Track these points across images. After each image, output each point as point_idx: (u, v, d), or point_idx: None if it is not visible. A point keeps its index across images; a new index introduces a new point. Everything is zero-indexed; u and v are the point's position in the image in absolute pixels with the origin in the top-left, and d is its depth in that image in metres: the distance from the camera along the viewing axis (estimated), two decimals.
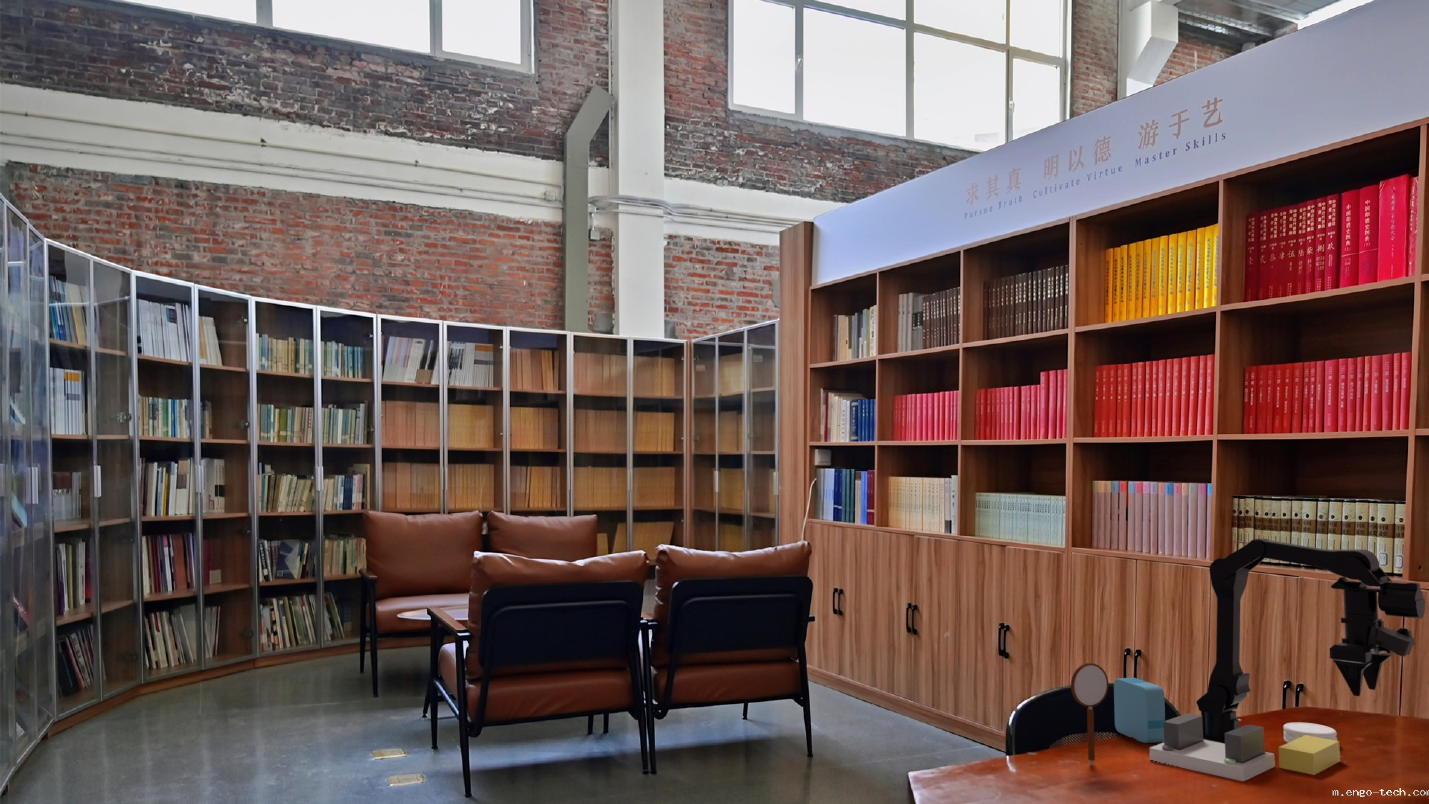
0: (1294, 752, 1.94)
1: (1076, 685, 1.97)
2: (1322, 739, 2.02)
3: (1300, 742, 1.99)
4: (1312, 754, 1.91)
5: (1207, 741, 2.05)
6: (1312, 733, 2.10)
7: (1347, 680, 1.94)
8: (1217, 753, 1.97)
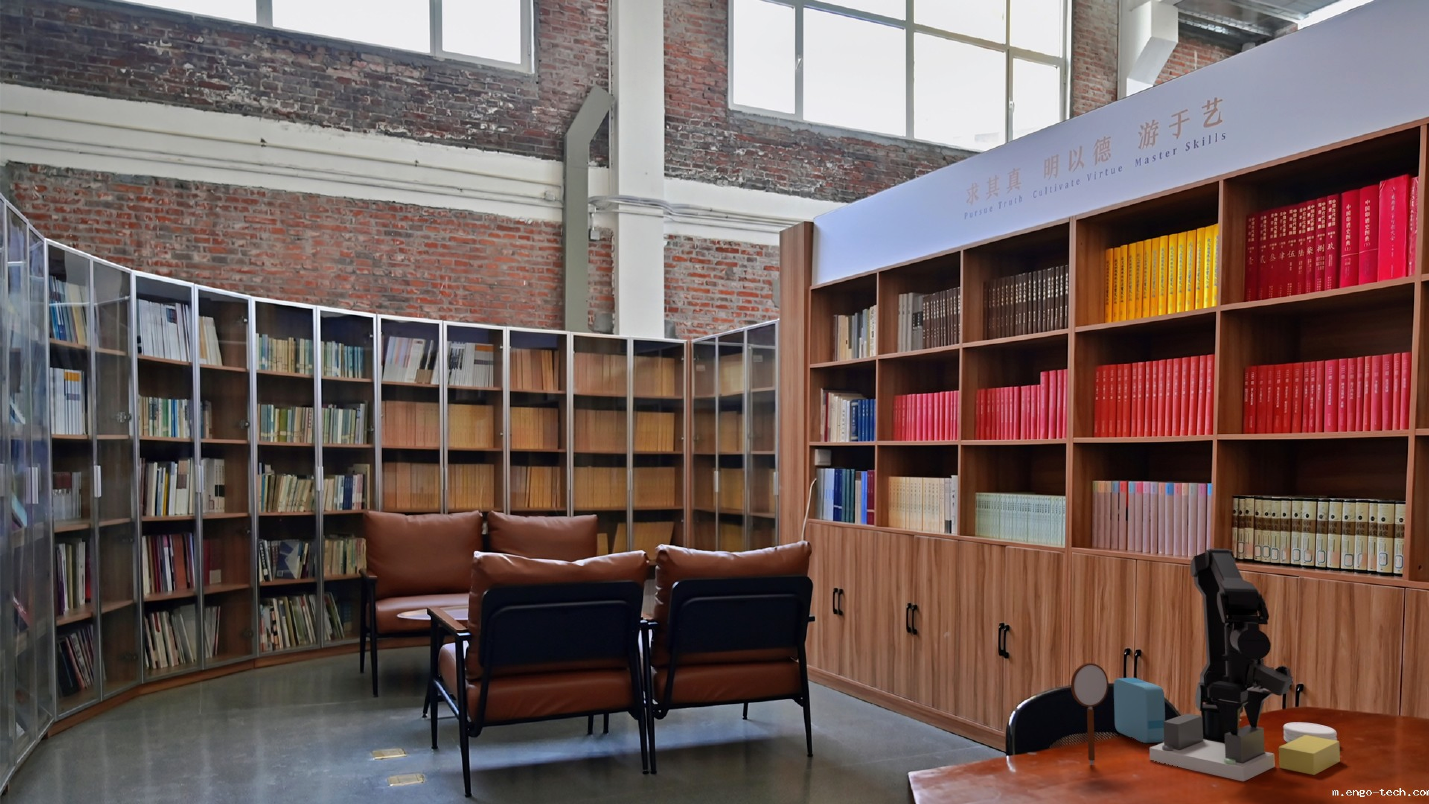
0: (1294, 752, 1.94)
1: (1076, 685, 1.97)
2: (1322, 739, 2.02)
3: (1300, 742, 1.99)
4: (1312, 754, 1.91)
5: (1207, 741, 2.05)
6: (1312, 733, 2.10)
7: (1225, 719, 1.93)
8: (1217, 753, 1.97)
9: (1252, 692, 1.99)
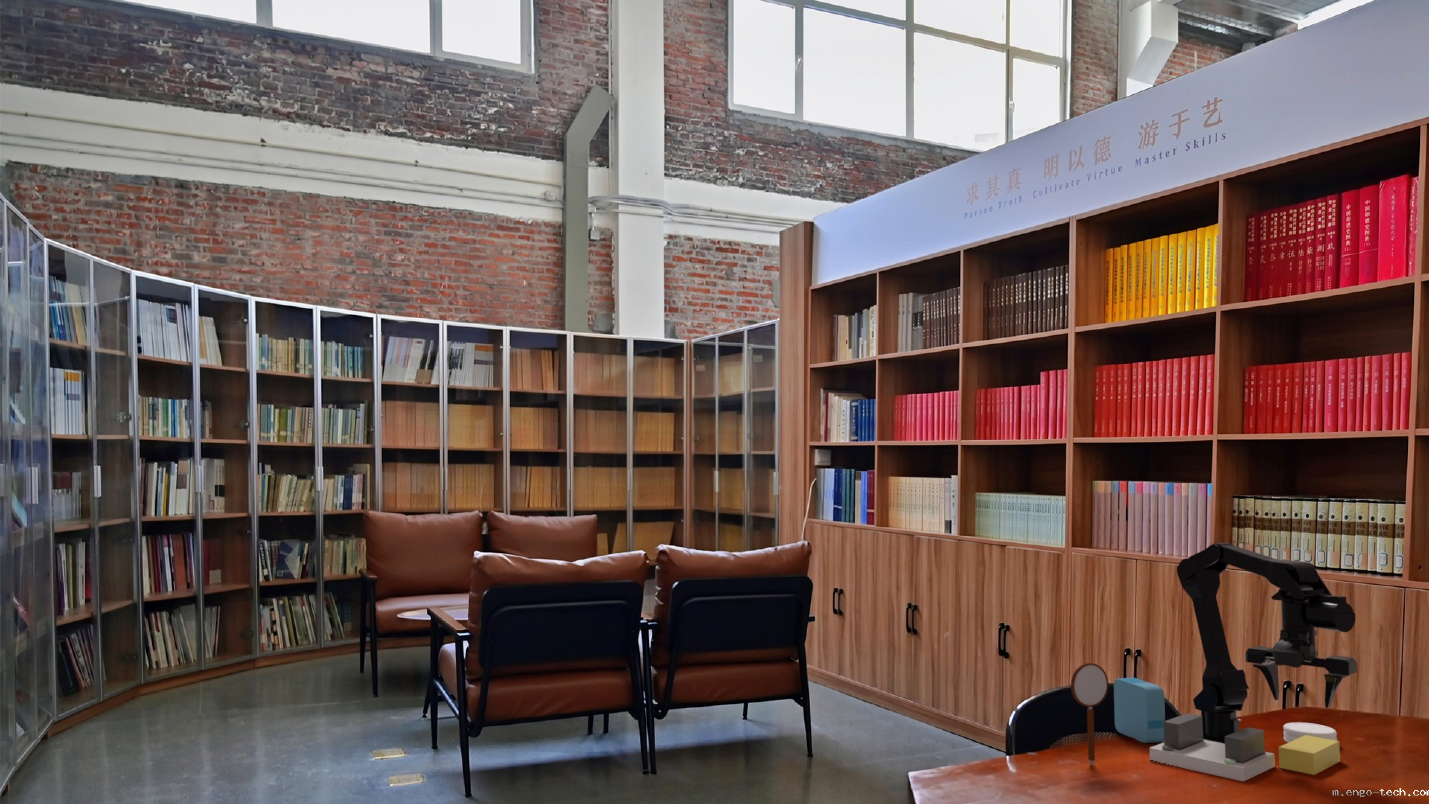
0: (1294, 752, 1.94)
1: (1076, 685, 1.97)
2: (1322, 739, 2.02)
3: (1300, 742, 1.99)
4: (1312, 754, 1.91)
5: (1207, 741, 2.05)
6: (1312, 733, 2.10)
7: None
8: (1217, 753, 1.97)
9: None
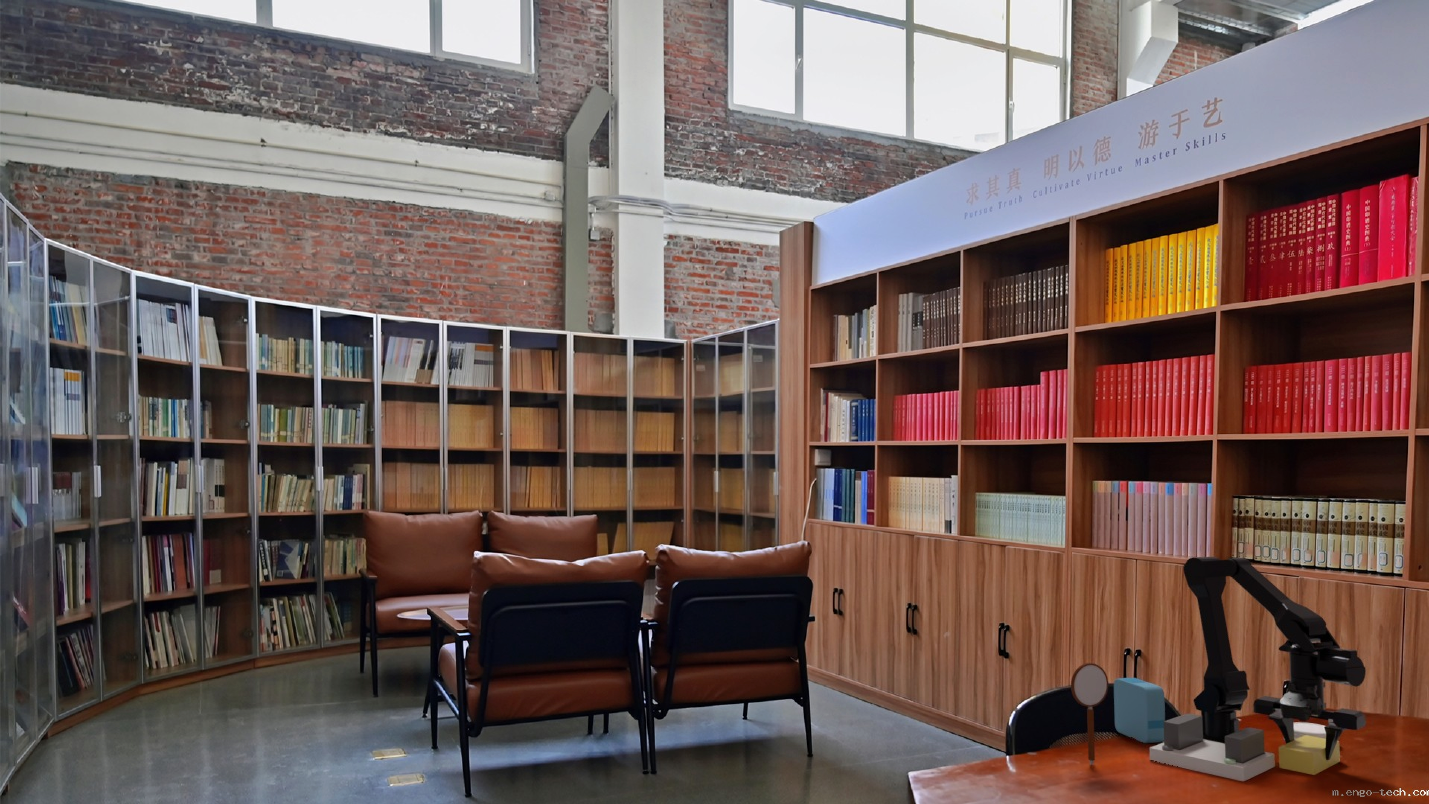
0: (1294, 752, 1.94)
1: (1076, 685, 1.97)
2: (1322, 739, 2.02)
3: (1300, 742, 1.99)
4: (1312, 754, 1.91)
5: (1207, 741, 2.05)
6: (1312, 733, 2.10)
7: None
8: (1217, 753, 1.97)
9: None
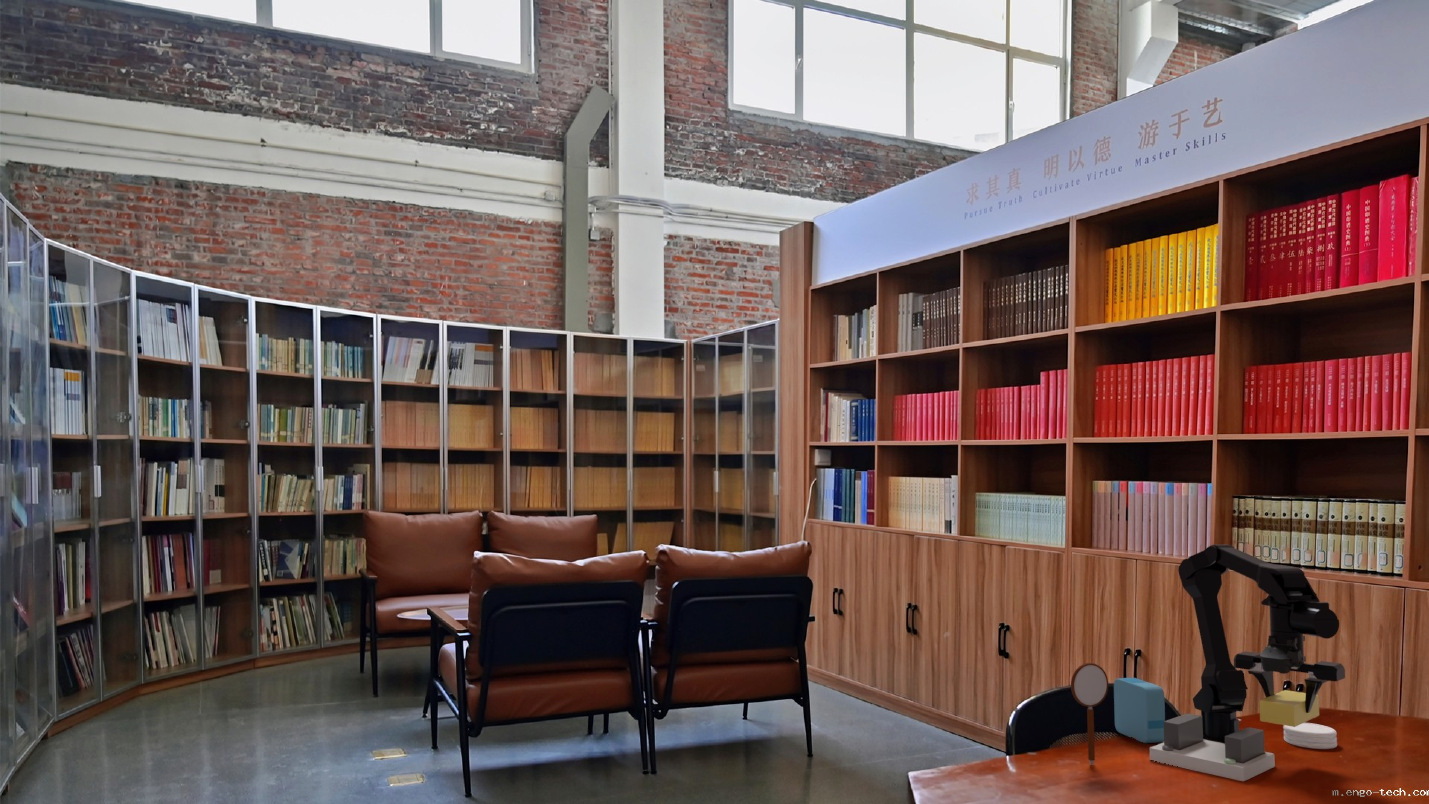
0: (1275, 705, 1.93)
1: (1076, 685, 1.97)
2: (1301, 693, 2.01)
3: (1280, 696, 1.99)
4: (1293, 706, 1.91)
5: (1207, 741, 2.05)
6: (1312, 733, 2.10)
7: None
8: (1217, 753, 1.97)
9: None
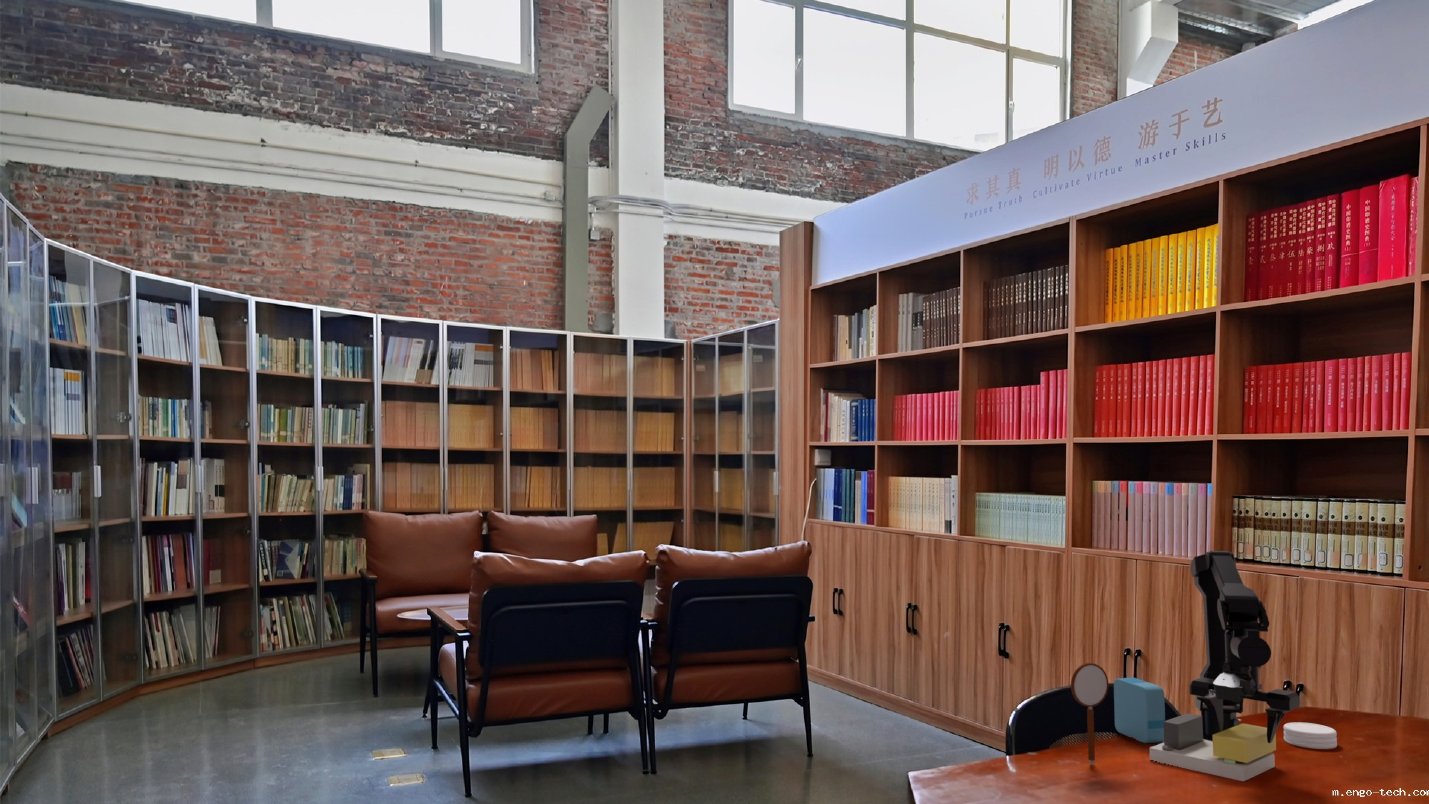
0: (1227, 740, 1.91)
1: (1076, 685, 1.97)
2: (1258, 727, 1.99)
3: (1235, 730, 1.96)
4: (1245, 742, 1.88)
5: (1207, 741, 2.05)
6: (1312, 733, 2.10)
7: None
8: None
9: None
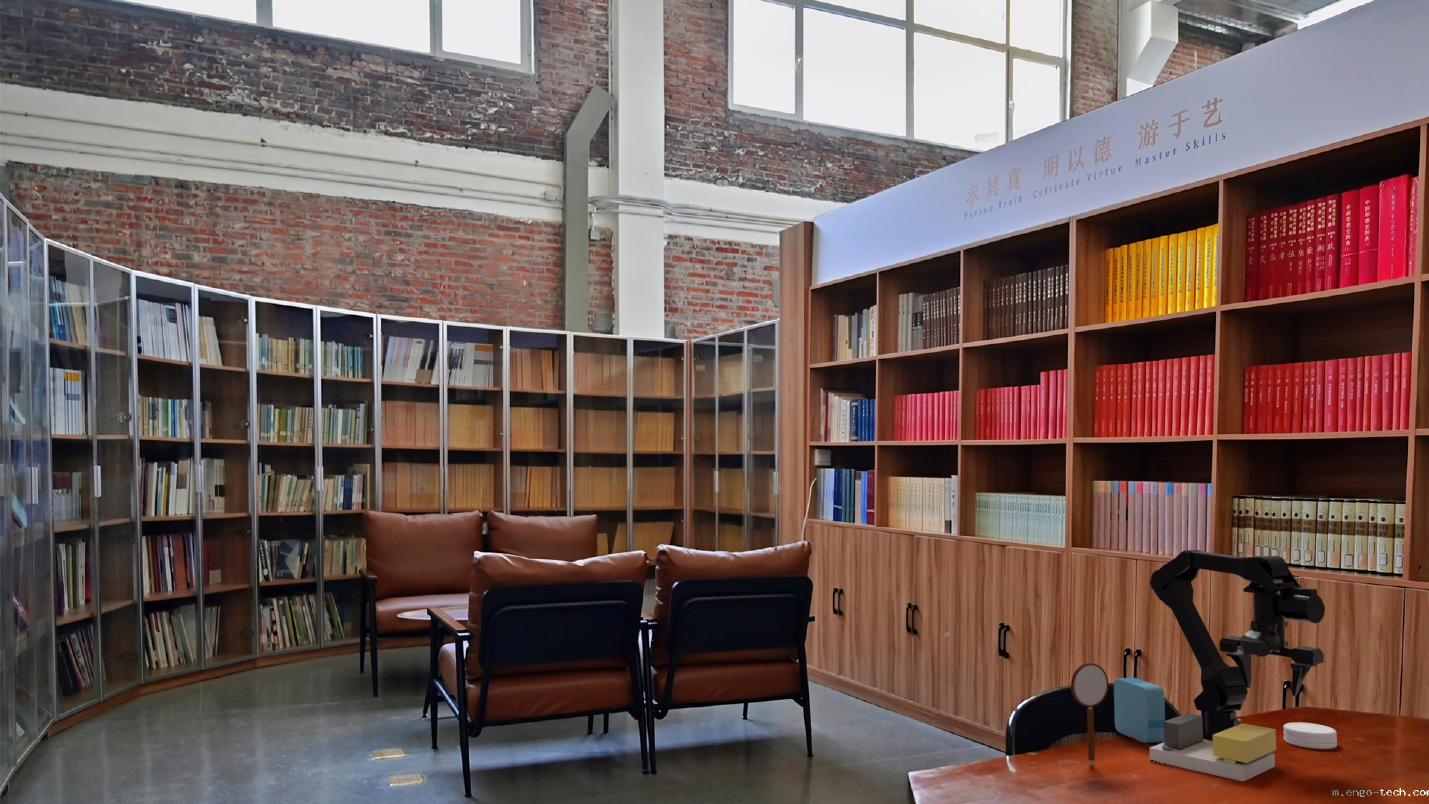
0: (1227, 740, 1.91)
1: (1076, 685, 1.97)
2: (1258, 727, 1.99)
3: (1235, 730, 1.96)
4: (1245, 742, 1.88)
5: (1207, 741, 2.05)
6: (1312, 733, 2.10)
7: None
8: None
9: None
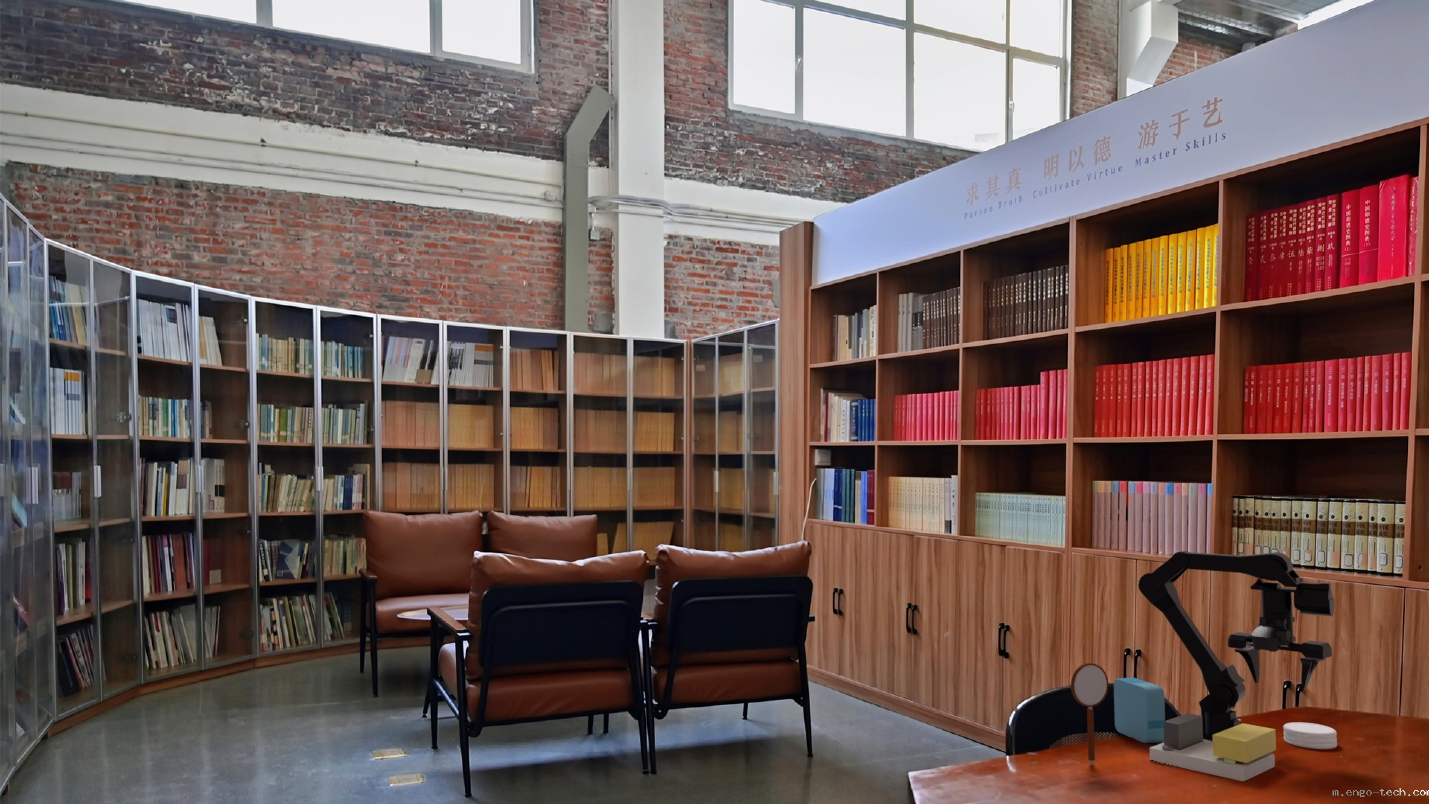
0: (1227, 740, 1.91)
1: (1076, 685, 1.97)
2: (1258, 727, 1.99)
3: (1235, 730, 1.96)
4: (1245, 742, 1.88)
5: (1207, 741, 2.05)
6: (1312, 733, 2.10)
7: None
8: None
9: None
